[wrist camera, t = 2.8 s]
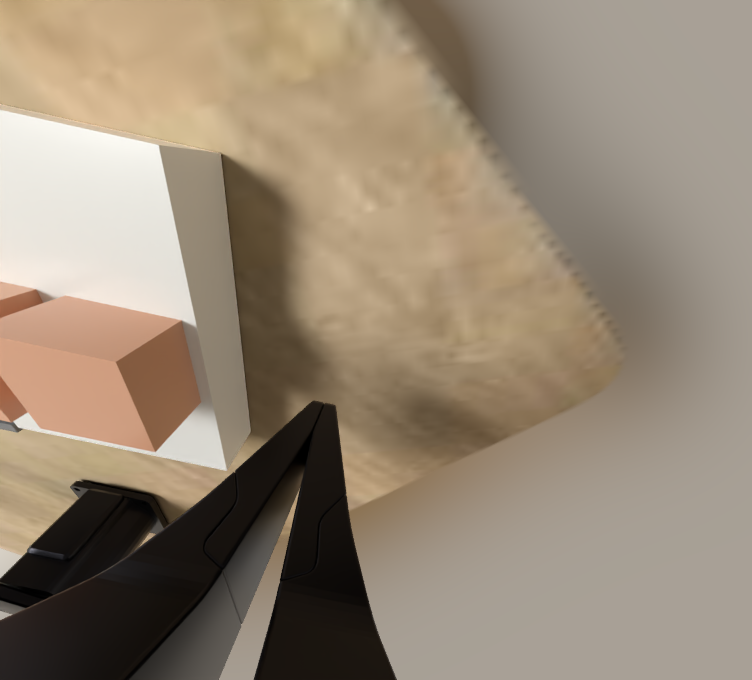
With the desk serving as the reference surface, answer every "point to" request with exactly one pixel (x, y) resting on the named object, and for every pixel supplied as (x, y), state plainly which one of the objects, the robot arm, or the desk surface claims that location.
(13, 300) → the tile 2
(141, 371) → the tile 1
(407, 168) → the desk surface
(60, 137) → the board
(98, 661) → the robot arm
